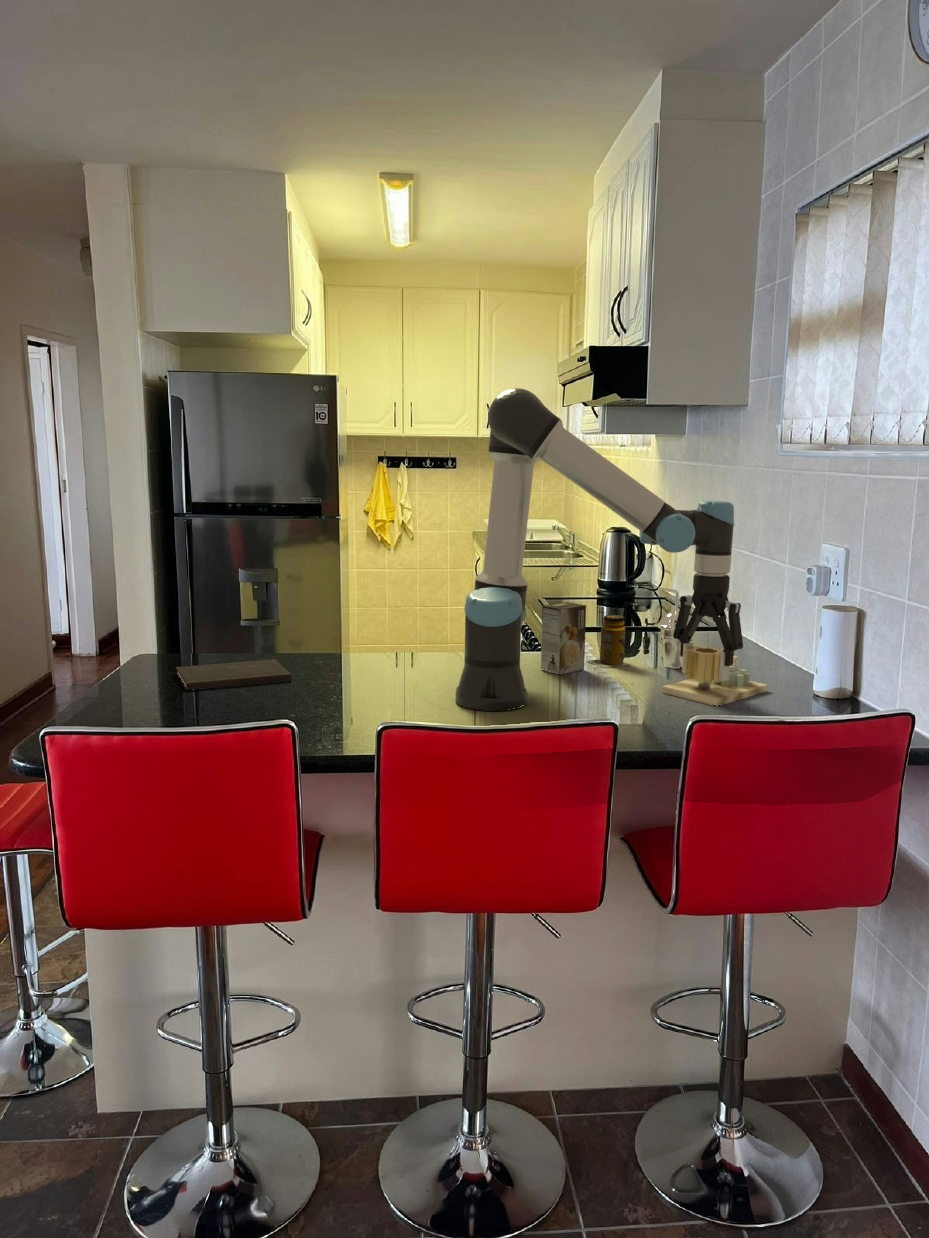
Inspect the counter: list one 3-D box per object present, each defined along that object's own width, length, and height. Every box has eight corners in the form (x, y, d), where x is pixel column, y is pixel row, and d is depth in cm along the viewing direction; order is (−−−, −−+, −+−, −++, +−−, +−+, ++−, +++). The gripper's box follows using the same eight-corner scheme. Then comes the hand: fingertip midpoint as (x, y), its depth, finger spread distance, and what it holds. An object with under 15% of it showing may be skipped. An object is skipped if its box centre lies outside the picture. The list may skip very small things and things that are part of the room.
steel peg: (705, 690, 196) (707, 667, 195) (695, 688, 198) (697, 664, 197) (712, 688, 198) (714, 665, 197) (702, 686, 200) (704, 663, 199)
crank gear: (734, 688, 198) (736, 664, 197) (701, 680, 205) (702, 657, 204) (756, 682, 204) (757, 659, 203) (722, 675, 210) (724, 652, 209)
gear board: (716, 706, 189) (717, 699, 189) (662, 692, 200) (662, 686, 199) (767, 691, 202) (767, 684, 202) (713, 678, 213) (713, 672, 212)
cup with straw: (688, 671, 220) (693, 590, 216) (651, 668, 222) (655, 588, 219) (691, 664, 228) (696, 585, 224) (655, 660, 230) (659, 583, 227)
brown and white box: (565, 665, 224) (567, 601, 221) (584, 669, 220) (587, 605, 217) (539, 670, 218) (541, 605, 215) (559, 675, 214) (561, 608, 211)
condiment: (630, 664, 227) (633, 617, 224) (605, 668, 222) (608, 620, 220) (611, 658, 233) (613, 612, 230) (586, 662, 228) (588, 615, 226)
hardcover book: (176, 676, 209) (176, 667, 208) (275, 668, 218) (275, 659, 218) (186, 693, 194) (185, 683, 194) (291, 683, 204) (291, 673, 204)
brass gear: (710, 684, 191) (712, 656, 190) (676, 676, 198) (677, 649, 197) (732, 678, 197) (734, 651, 196) (699, 670, 203) (700, 644, 202)
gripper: (766, 578, 188) (758, 683, 192) (680, 567, 204) (674, 664, 208) (746, 580, 183) (738, 688, 187) (660, 569, 199) (654, 669, 203)
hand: (704, 675), depth 197 cm, fingers open, 9 cm apart
